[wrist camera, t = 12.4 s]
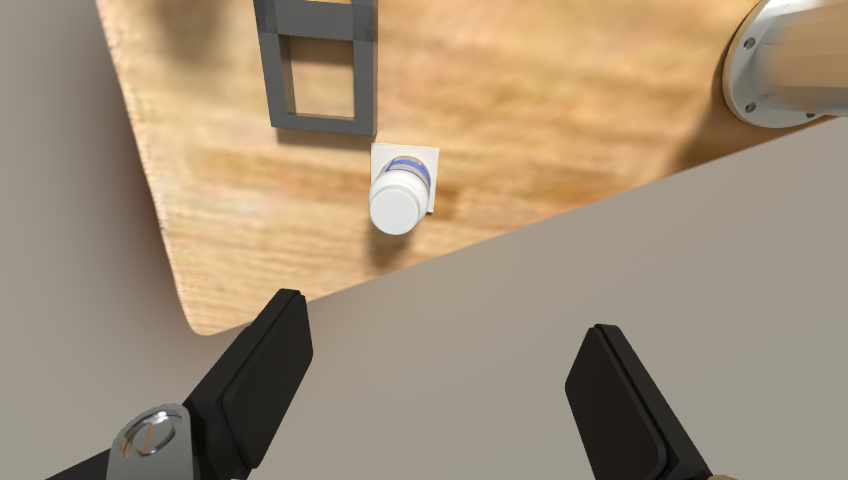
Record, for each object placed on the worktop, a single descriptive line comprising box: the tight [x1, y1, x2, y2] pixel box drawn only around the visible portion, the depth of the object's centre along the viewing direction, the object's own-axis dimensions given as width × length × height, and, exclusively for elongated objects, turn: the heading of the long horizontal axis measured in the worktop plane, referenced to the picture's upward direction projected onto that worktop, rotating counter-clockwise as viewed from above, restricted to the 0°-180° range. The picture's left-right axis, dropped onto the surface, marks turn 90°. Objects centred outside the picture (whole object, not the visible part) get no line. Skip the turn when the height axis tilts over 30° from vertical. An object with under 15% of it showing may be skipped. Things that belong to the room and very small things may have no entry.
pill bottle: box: [368, 155, 431, 235], centre depth 29 cm, size 5×5×10 cm
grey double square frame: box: [253, 0, 378, 136], centre depth 27 cm, size 10×18×2 cm, turn 176°
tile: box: [371, 142, 439, 212], centre depth 34 cm, size 7×7×1 cm
